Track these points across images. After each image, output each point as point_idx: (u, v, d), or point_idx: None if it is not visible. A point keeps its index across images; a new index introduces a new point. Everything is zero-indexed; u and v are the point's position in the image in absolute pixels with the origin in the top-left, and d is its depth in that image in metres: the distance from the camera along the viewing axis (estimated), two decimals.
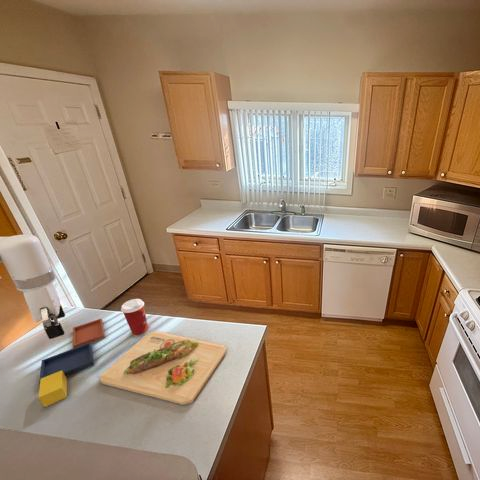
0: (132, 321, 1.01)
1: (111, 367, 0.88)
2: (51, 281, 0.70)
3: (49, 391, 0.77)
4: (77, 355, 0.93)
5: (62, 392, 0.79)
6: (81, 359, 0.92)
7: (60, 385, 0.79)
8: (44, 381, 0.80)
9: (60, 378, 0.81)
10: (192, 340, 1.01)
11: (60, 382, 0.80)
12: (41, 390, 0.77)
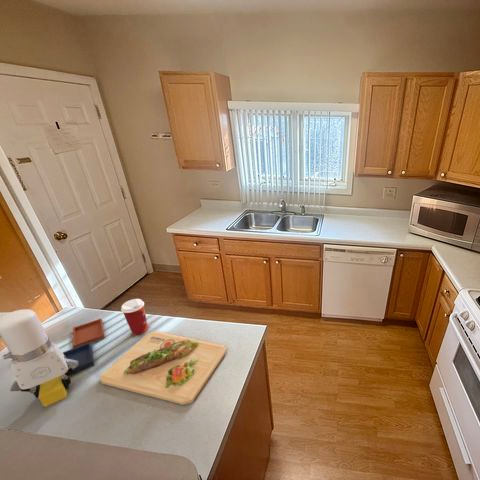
0: (132, 321, 1.01)
1: (111, 367, 0.88)
2: None
3: (49, 391, 0.77)
4: (77, 355, 0.93)
5: (62, 392, 0.79)
6: (81, 359, 0.92)
7: (60, 385, 0.79)
8: None
9: (60, 378, 0.81)
10: (192, 340, 1.01)
11: (60, 382, 0.80)
12: (41, 390, 0.77)
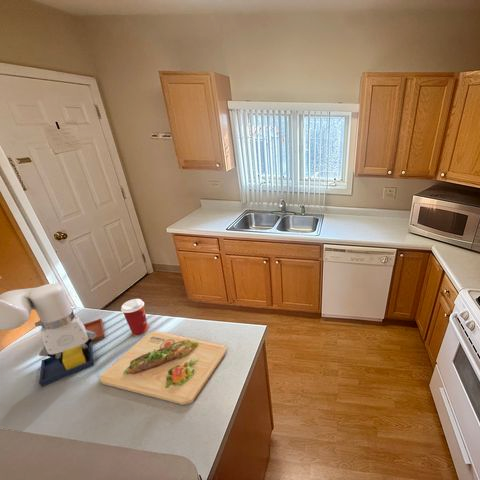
0: (132, 321, 1.01)
1: (111, 367, 0.88)
2: None
3: (72, 357, 0.87)
4: None
5: (82, 358, 0.89)
6: None
7: (80, 352, 0.89)
8: None
9: (80, 347, 0.91)
10: (192, 340, 1.01)
11: (80, 350, 0.90)
12: (64, 356, 0.87)
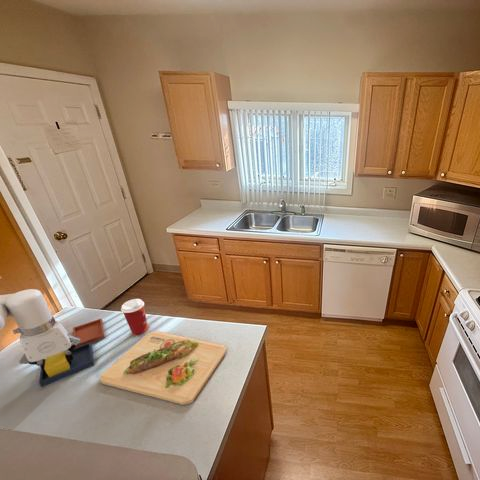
0: (132, 321, 1.01)
1: (111, 367, 0.88)
2: None
3: (54, 364, 0.84)
4: (77, 355, 0.93)
5: (66, 365, 0.86)
6: (81, 359, 0.92)
7: (64, 359, 0.86)
8: None
9: (64, 353, 0.89)
10: (192, 340, 1.01)
11: (64, 356, 0.87)
12: (47, 363, 0.85)
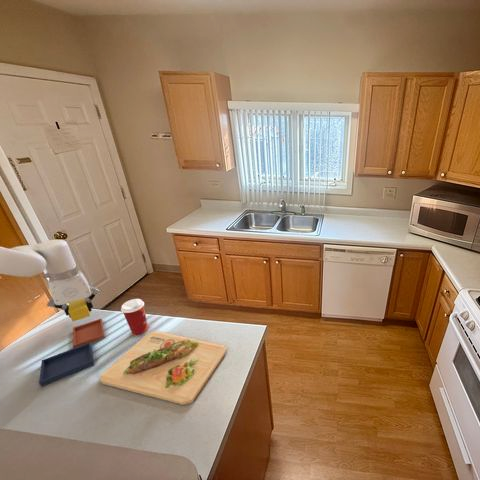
0: (132, 321, 1.01)
1: (111, 367, 0.88)
2: None
3: (77, 309, 0.95)
4: (77, 355, 0.93)
5: (86, 311, 0.97)
6: (81, 359, 0.92)
7: (85, 305, 0.97)
8: (72, 303, 0.98)
9: (84, 301, 0.99)
10: (192, 340, 1.01)
11: (85, 303, 0.98)
12: (70, 308, 0.95)
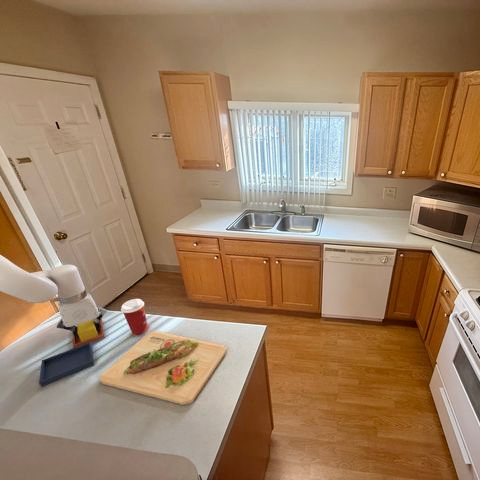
0: (132, 321, 1.01)
1: (111, 367, 0.88)
2: None
3: (85, 330, 0.99)
4: (77, 355, 0.93)
5: (94, 331, 1.01)
6: (81, 359, 0.92)
7: (93, 326, 1.01)
8: None
9: (92, 321, 1.03)
10: (192, 340, 1.01)
11: (93, 324, 1.02)
12: (79, 329, 0.99)
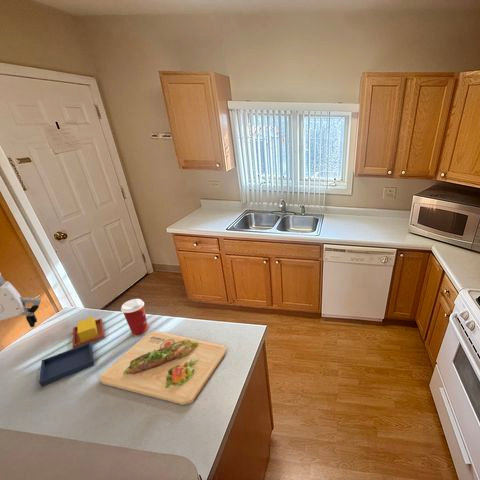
0: (132, 321, 1.01)
1: (111, 367, 0.88)
2: None
3: (85, 330, 0.99)
4: (77, 355, 0.93)
5: (94, 331, 1.01)
6: (81, 359, 0.92)
7: (93, 326, 1.01)
8: (80, 323, 1.02)
9: (92, 321, 1.03)
10: (192, 340, 1.01)
11: (93, 324, 1.02)
12: (79, 329, 0.99)
